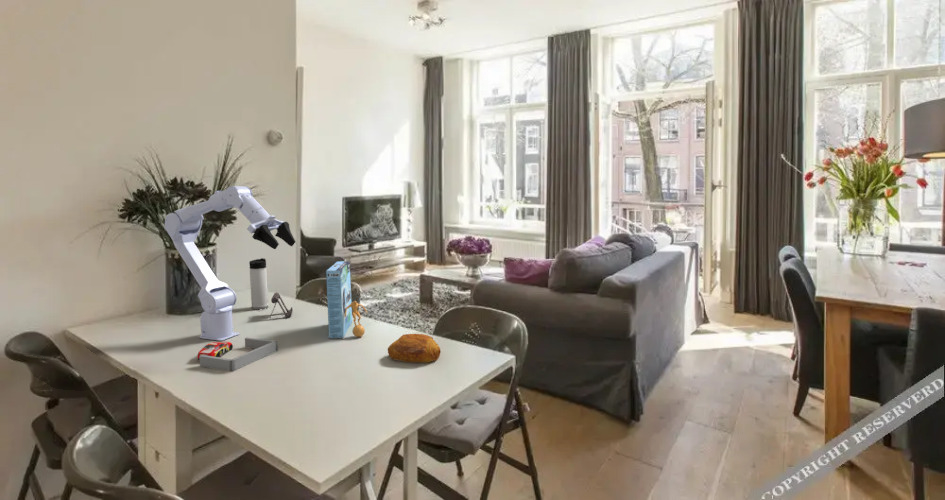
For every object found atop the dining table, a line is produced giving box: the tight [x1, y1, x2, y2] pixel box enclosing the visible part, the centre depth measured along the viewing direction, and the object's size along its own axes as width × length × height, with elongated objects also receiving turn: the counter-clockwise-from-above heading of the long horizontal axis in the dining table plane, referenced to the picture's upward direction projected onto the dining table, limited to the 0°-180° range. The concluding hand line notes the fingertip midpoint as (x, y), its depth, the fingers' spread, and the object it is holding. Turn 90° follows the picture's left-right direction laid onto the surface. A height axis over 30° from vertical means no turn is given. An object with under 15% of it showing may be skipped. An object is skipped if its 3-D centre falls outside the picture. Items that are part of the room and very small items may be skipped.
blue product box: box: [325, 260, 353, 339], centre depth 174 cm, size 20×5×23 cm, turn 4°
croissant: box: [387, 333, 441, 364], centre depth 150 cm, size 14×16×8 cm
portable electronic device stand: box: [269, 292, 293, 319], centre depth 193 cm, size 9×8×8 cm
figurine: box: [345, 300, 368, 338], centre depth 169 cm, size 8×6×12 cm
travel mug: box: [248, 257, 269, 311], centre depth 204 cm, size 6×7×20 cm
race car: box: [197, 341, 234, 362], centre depth 151 cm, size 13×5×4 cm, turn 177°
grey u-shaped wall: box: [199, 336, 279, 373], centre depth 148 cm, size 12×18×3 cm, turn 161°
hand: (285, 245), depth 154 cm, fingers open, 7 cm apart
